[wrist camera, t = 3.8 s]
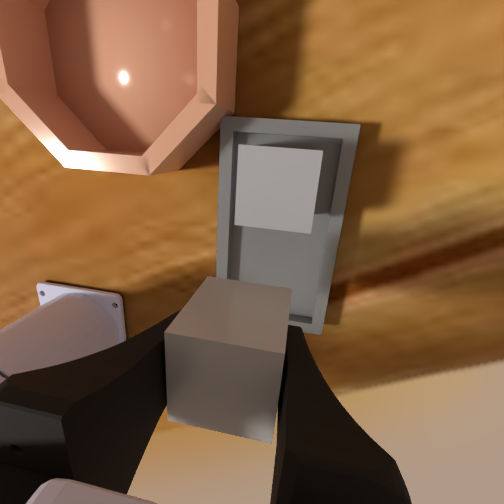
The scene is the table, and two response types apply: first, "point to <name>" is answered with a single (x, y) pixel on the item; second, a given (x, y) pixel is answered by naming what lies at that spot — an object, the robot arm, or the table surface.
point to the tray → (286, 242)
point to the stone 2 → (277, 187)
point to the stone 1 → (228, 358)
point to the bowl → (120, 78)
